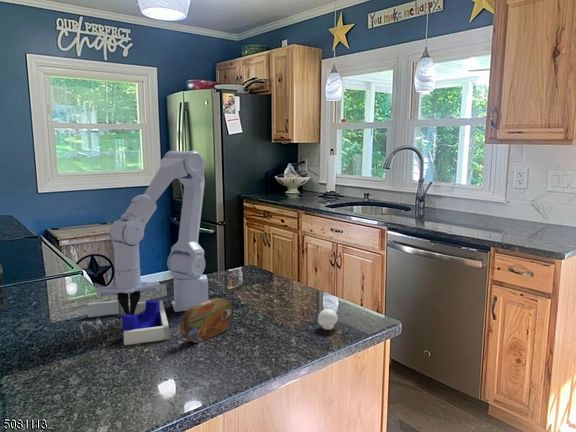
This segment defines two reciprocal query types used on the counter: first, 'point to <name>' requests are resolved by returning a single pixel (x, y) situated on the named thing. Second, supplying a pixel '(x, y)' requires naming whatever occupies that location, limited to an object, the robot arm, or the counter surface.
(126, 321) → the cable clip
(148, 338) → the bracket
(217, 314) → the tin
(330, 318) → the mushroom
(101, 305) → the gate
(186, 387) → the counter surface
